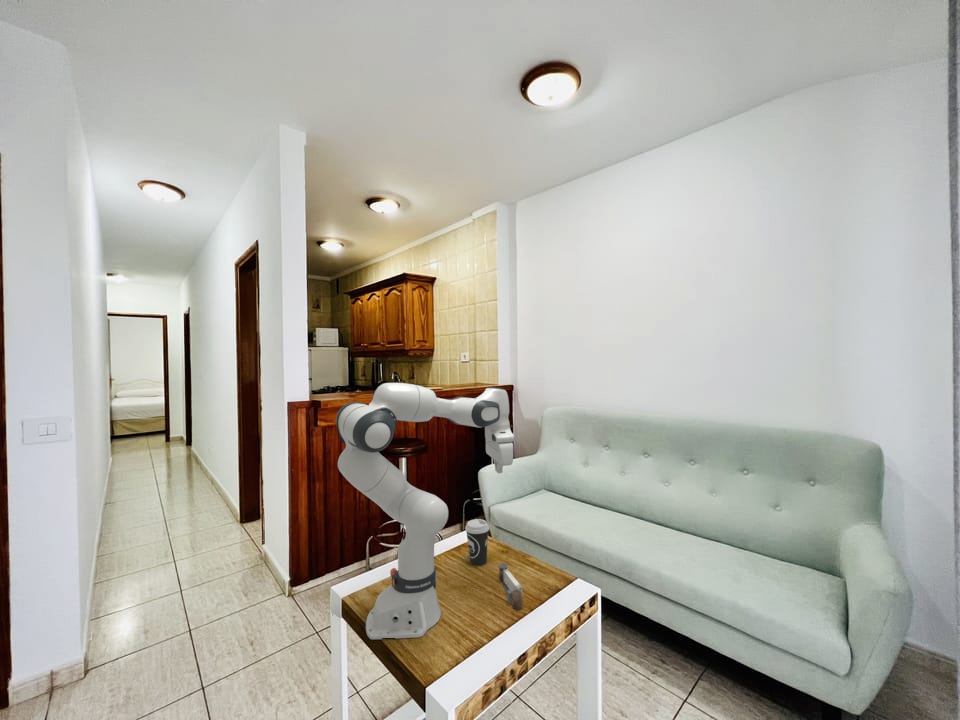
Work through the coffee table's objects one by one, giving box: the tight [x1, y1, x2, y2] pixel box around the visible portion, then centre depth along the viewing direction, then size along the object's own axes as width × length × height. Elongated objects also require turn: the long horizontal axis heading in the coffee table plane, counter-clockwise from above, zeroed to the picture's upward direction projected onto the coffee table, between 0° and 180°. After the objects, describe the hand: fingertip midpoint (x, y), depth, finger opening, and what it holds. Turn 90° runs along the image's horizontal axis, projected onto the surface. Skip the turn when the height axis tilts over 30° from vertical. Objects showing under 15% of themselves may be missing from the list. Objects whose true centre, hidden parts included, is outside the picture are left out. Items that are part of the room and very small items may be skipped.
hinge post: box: [498, 562, 509, 583], centre depth 136 cm, size 3×3×5 cm
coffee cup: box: [464, 518, 490, 567], centre depth 149 cm, size 10×10×15 cm
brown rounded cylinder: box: [506, 590, 523, 611], centre depth 121 cm, size 4×5×5 cm, turn 13°
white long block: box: [503, 568, 523, 596], centre depth 128 cm, size 12×2×4 cm, turn 19°
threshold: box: [502, 583, 513, 601], centre depth 128 cm, size 2×9×1 cm, turn 12°
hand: (498, 472), depth 134 cm, fingers closed
